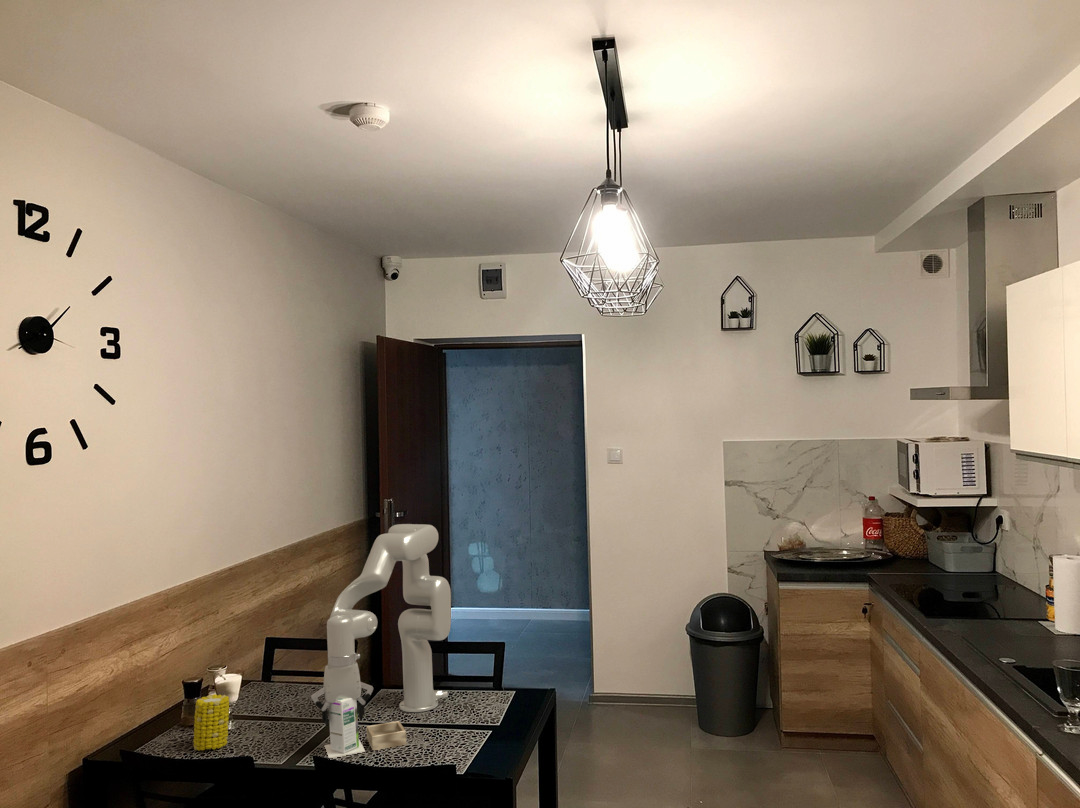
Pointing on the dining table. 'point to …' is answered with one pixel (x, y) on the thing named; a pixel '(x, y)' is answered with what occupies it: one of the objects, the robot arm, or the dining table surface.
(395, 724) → the wooden tray
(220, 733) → the food
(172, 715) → the dining table surface
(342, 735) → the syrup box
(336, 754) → the plate
